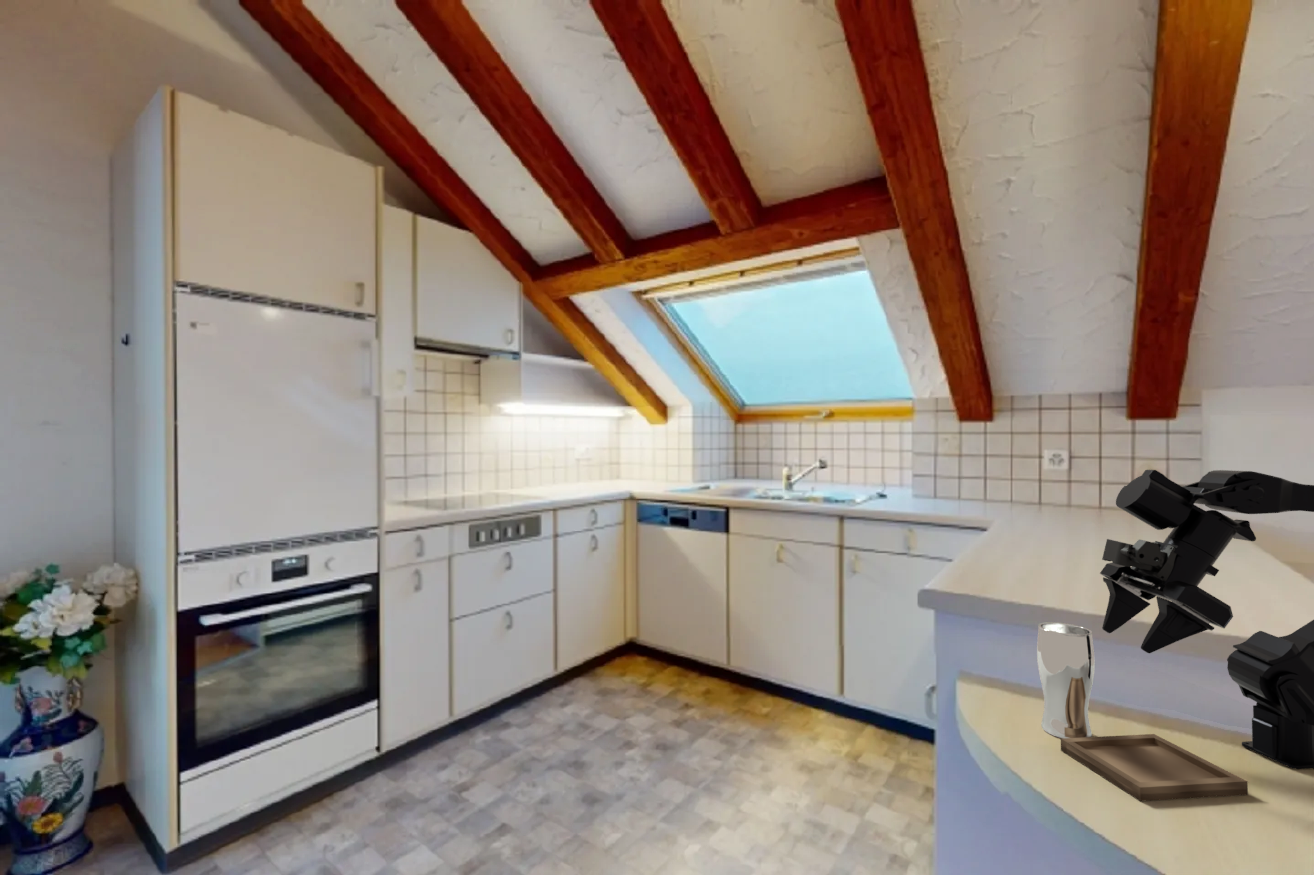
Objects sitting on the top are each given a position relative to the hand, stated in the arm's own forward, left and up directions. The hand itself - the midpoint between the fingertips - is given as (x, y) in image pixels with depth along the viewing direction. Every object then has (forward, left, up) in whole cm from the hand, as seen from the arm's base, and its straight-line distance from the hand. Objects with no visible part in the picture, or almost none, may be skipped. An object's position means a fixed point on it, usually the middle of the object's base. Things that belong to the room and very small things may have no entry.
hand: (1124, 640), depth 84 cm
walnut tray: (+4, +7, -14) cm, 16 cm away
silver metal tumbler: (+6, -4, -15) cm, 16 cm away
